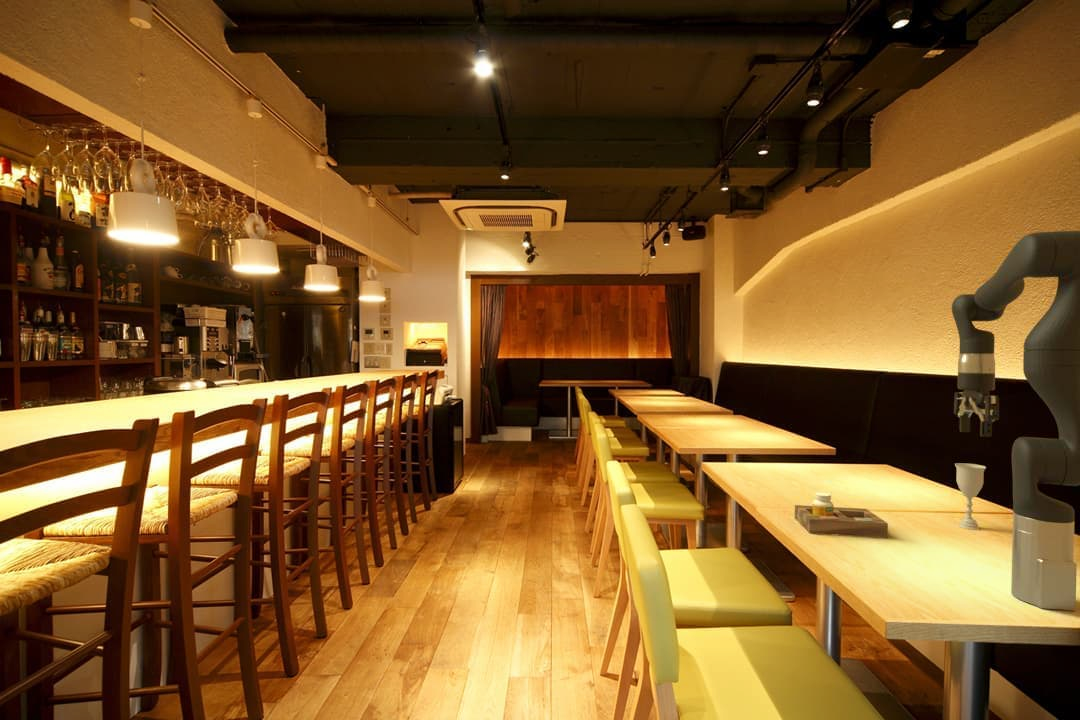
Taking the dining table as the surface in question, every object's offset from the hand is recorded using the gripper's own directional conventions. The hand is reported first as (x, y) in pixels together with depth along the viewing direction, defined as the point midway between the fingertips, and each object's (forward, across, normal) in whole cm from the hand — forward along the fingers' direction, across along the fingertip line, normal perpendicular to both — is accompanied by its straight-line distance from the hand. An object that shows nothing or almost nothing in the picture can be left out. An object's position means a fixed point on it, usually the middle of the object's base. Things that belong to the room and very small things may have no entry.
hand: (974, 434), depth 140 cm
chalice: (+30, +20, -10) cm, 37 cm away
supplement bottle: (+30, +12, +32) cm, 46 cm away
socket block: (+30, +12, +28) cm, 43 cm away
